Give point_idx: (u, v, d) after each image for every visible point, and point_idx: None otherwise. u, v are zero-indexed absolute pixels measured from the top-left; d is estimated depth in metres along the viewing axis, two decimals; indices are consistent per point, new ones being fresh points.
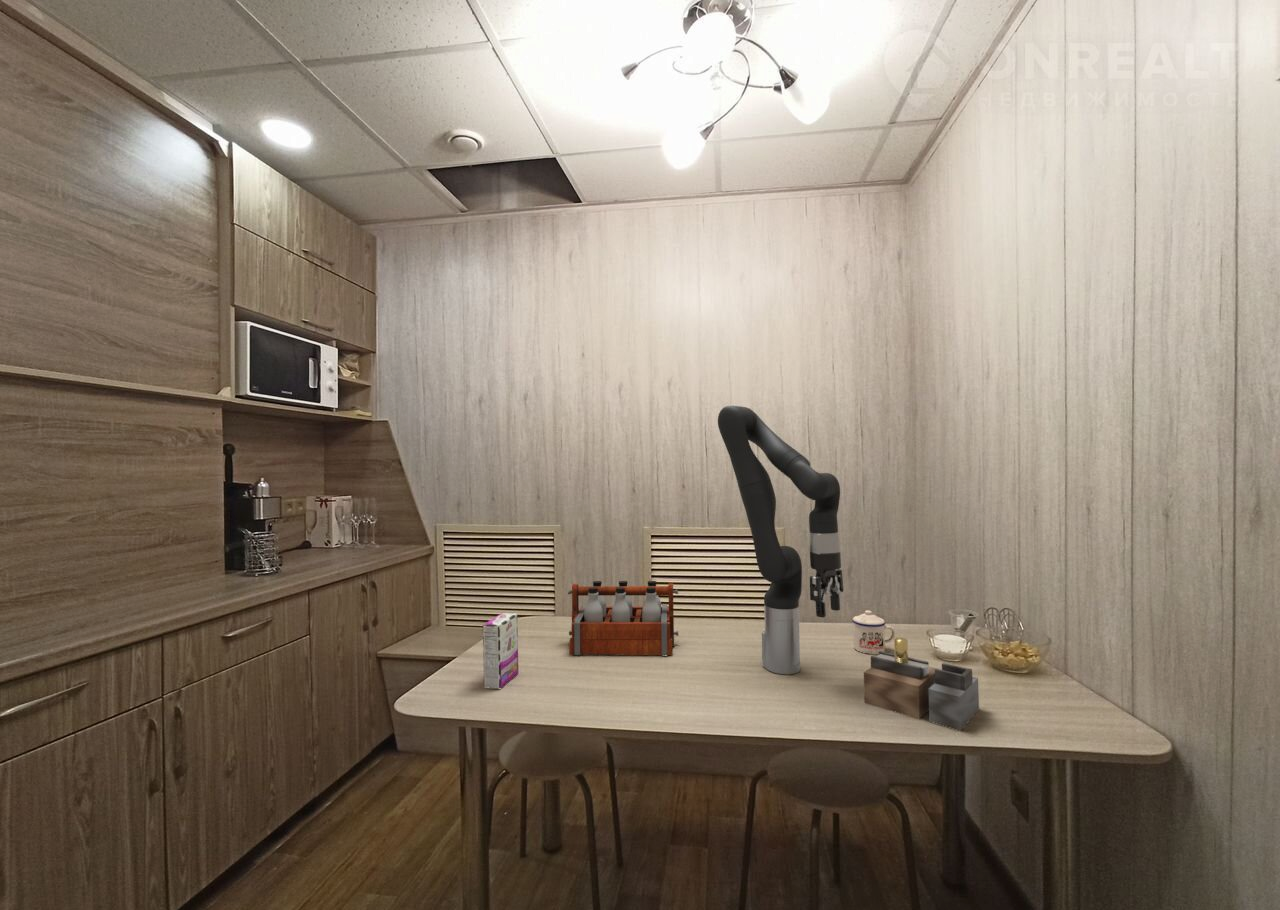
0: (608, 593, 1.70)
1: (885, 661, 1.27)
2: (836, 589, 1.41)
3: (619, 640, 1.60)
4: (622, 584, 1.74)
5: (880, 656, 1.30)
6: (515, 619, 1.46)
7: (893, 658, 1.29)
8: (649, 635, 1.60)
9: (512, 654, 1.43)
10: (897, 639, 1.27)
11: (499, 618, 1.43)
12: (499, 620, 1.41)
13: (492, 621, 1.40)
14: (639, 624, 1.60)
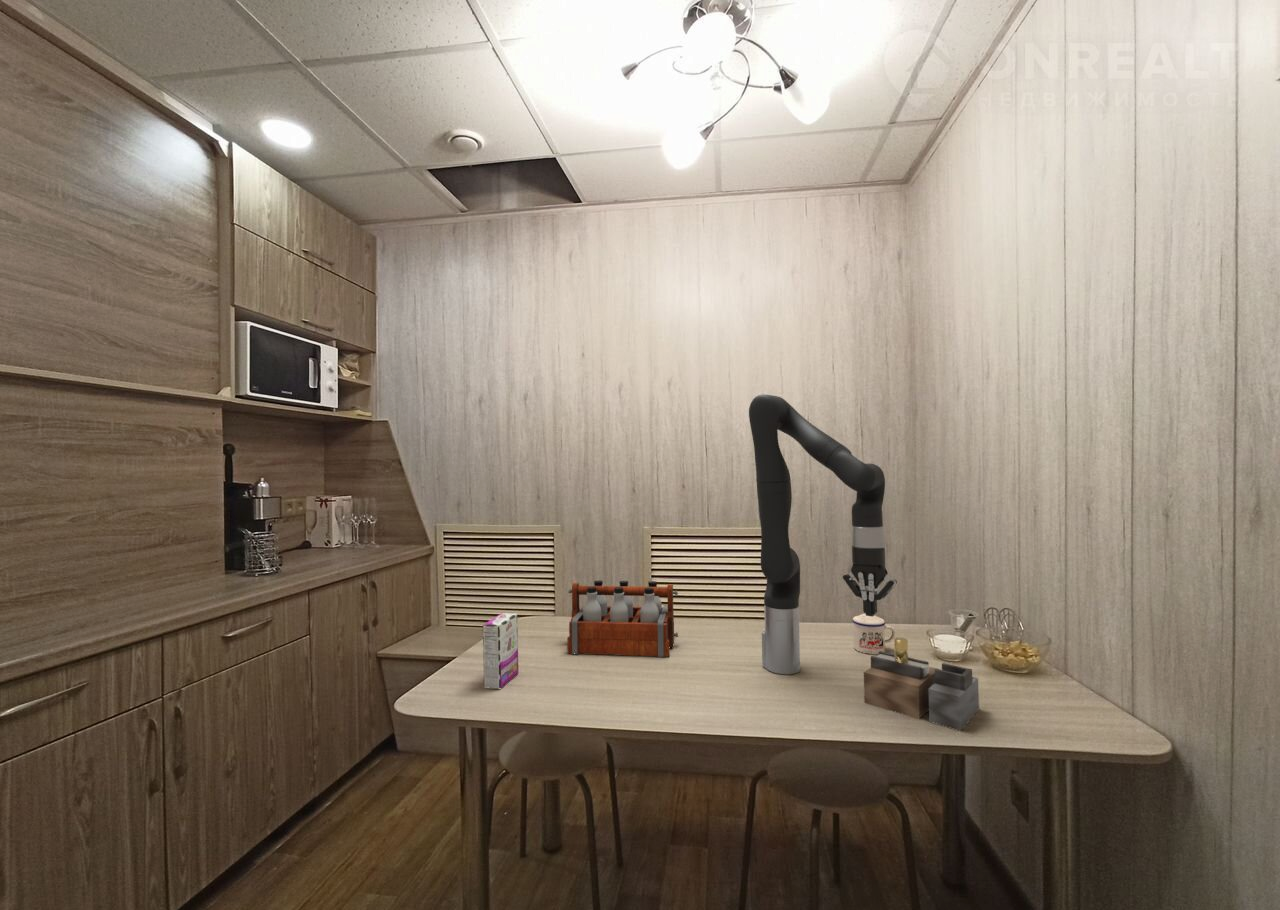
0: (607, 593, 1.70)
1: (885, 661, 1.27)
2: None
3: (616, 640, 1.61)
4: (622, 584, 1.74)
5: (880, 656, 1.30)
6: (515, 619, 1.46)
7: (893, 658, 1.29)
8: (645, 636, 1.59)
9: (512, 654, 1.43)
10: (897, 639, 1.27)
11: (499, 618, 1.43)
12: (499, 620, 1.41)
13: (492, 621, 1.40)
14: (636, 624, 1.60)
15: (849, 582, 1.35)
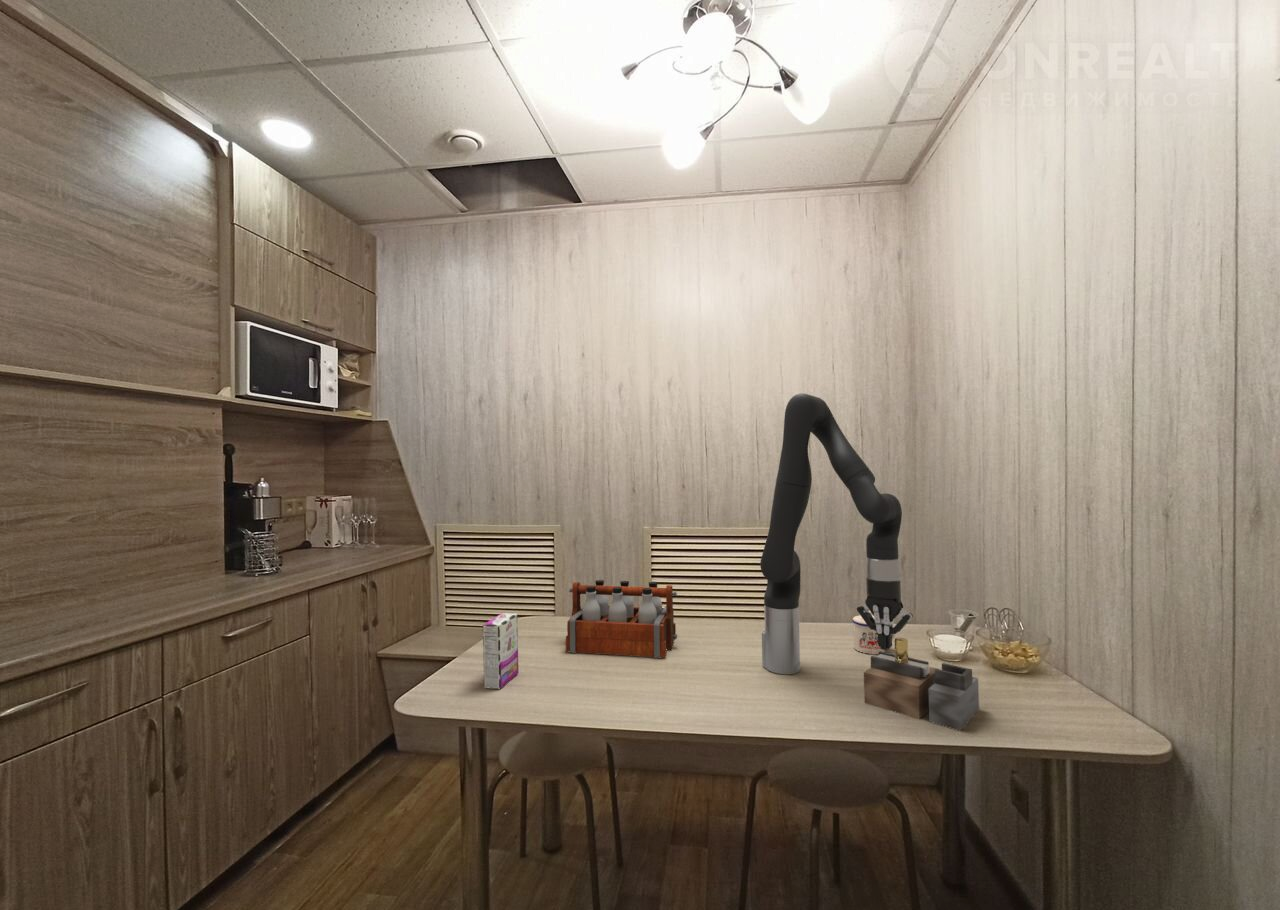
0: (607, 592, 1.70)
1: (885, 661, 1.27)
2: None
3: (613, 640, 1.61)
4: (623, 584, 1.74)
5: (880, 656, 1.30)
6: (515, 619, 1.46)
7: (893, 658, 1.29)
8: (642, 636, 1.59)
9: (512, 654, 1.43)
10: (897, 639, 1.27)
11: (499, 618, 1.43)
12: (499, 620, 1.41)
13: (492, 621, 1.40)
14: (632, 625, 1.60)
15: (863, 614, 1.32)
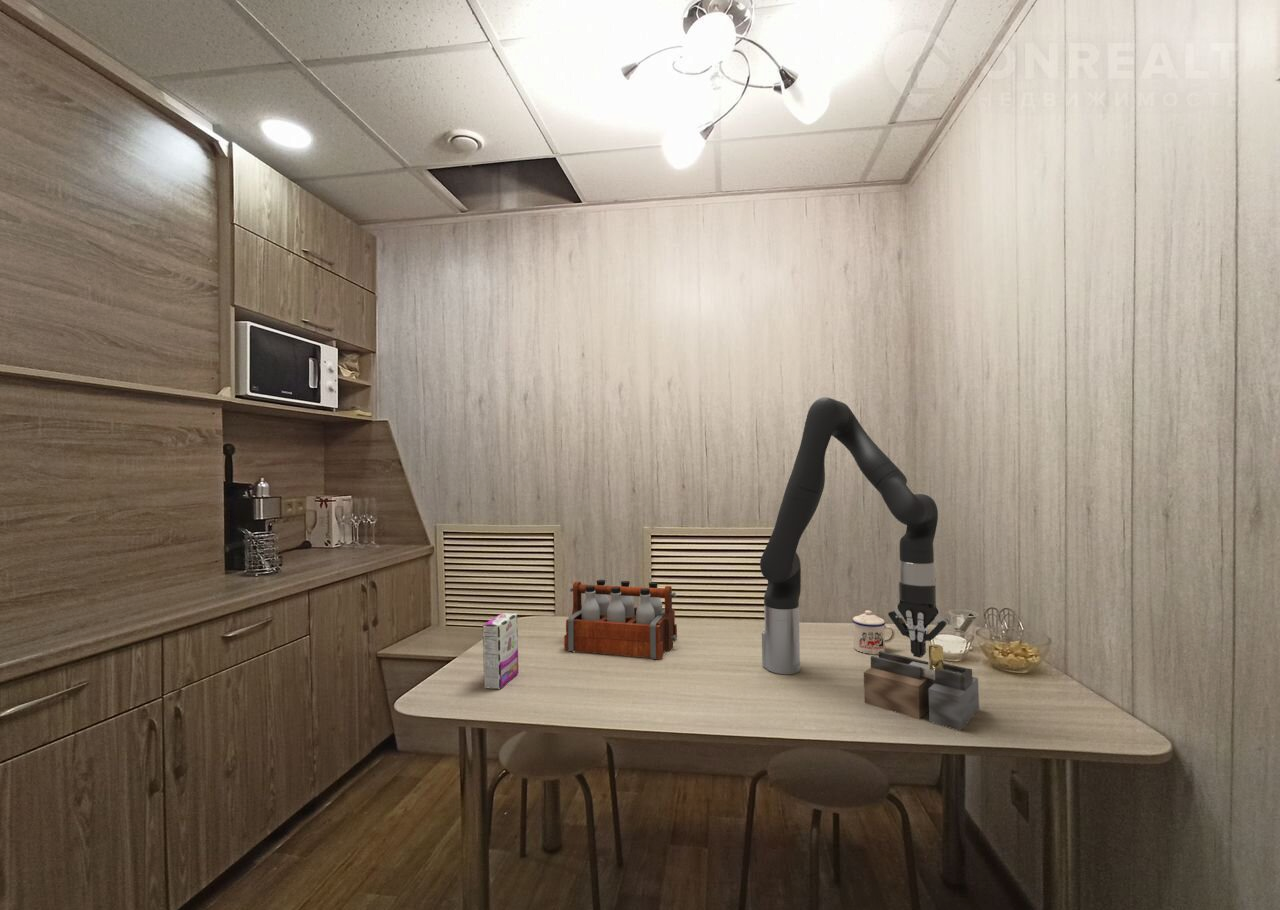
0: (607, 592, 1.71)
1: (885, 661, 1.27)
2: None
3: (610, 640, 1.61)
4: (623, 584, 1.74)
5: (913, 664, 1.25)
6: (515, 619, 1.46)
7: (927, 666, 1.23)
8: (638, 637, 1.58)
9: (512, 654, 1.43)
10: (932, 646, 1.22)
11: (499, 618, 1.43)
12: (499, 620, 1.41)
13: (492, 621, 1.40)
14: (629, 625, 1.59)
15: (895, 620, 1.27)
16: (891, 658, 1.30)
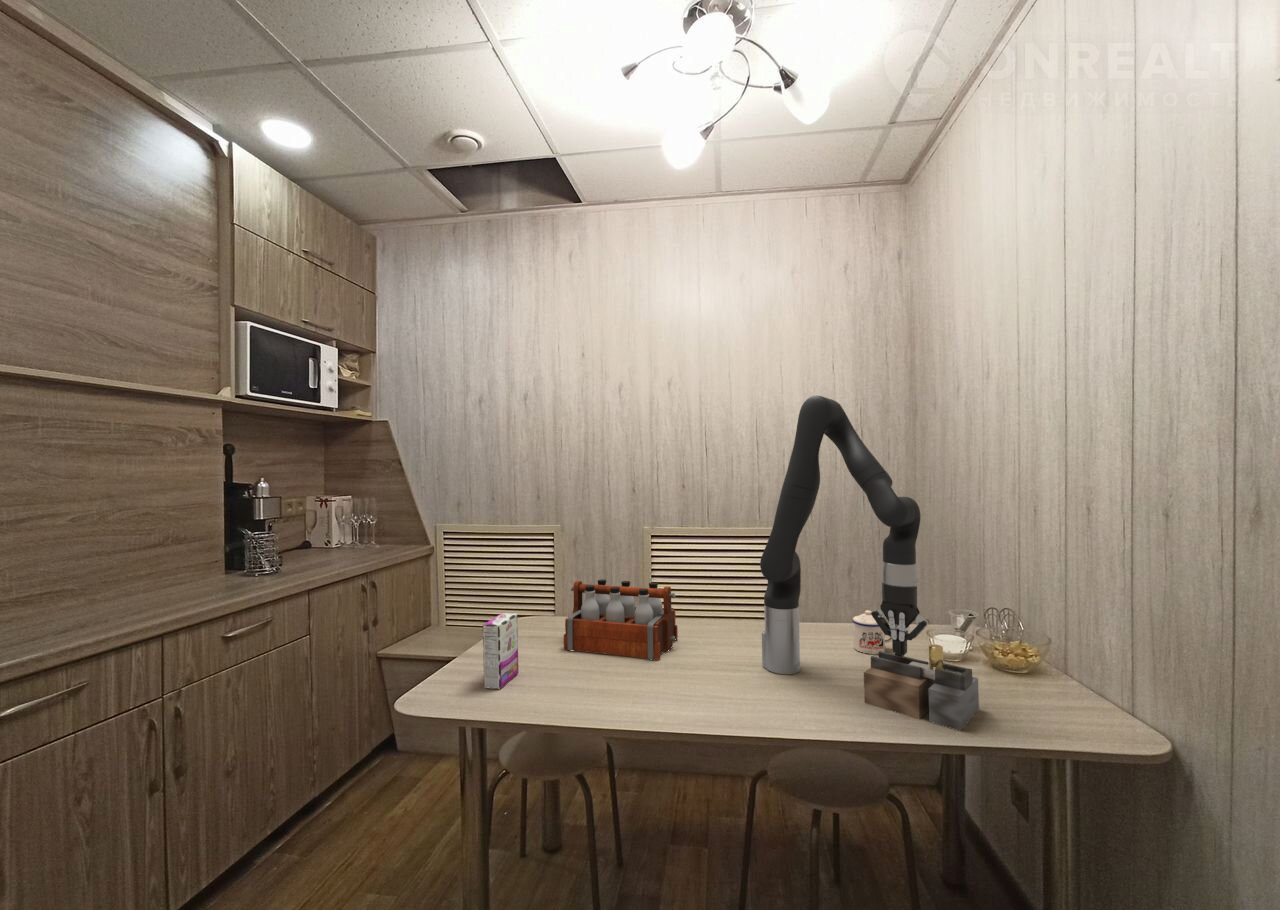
0: (606, 592, 1.71)
1: (885, 661, 1.27)
2: None
3: (608, 639, 1.61)
4: (624, 584, 1.74)
5: (913, 664, 1.25)
6: (515, 619, 1.46)
7: (927, 666, 1.23)
8: (636, 637, 1.58)
9: (512, 654, 1.43)
10: (932, 646, 1.22)
11: (499, 618, 1.43)
12: (499, 620, 1.41)
13: (492, 621, 1.40)
14: (627, 625, 1.59)
15: (878, 619, 1.30)
16: (891, 658, 1.30)
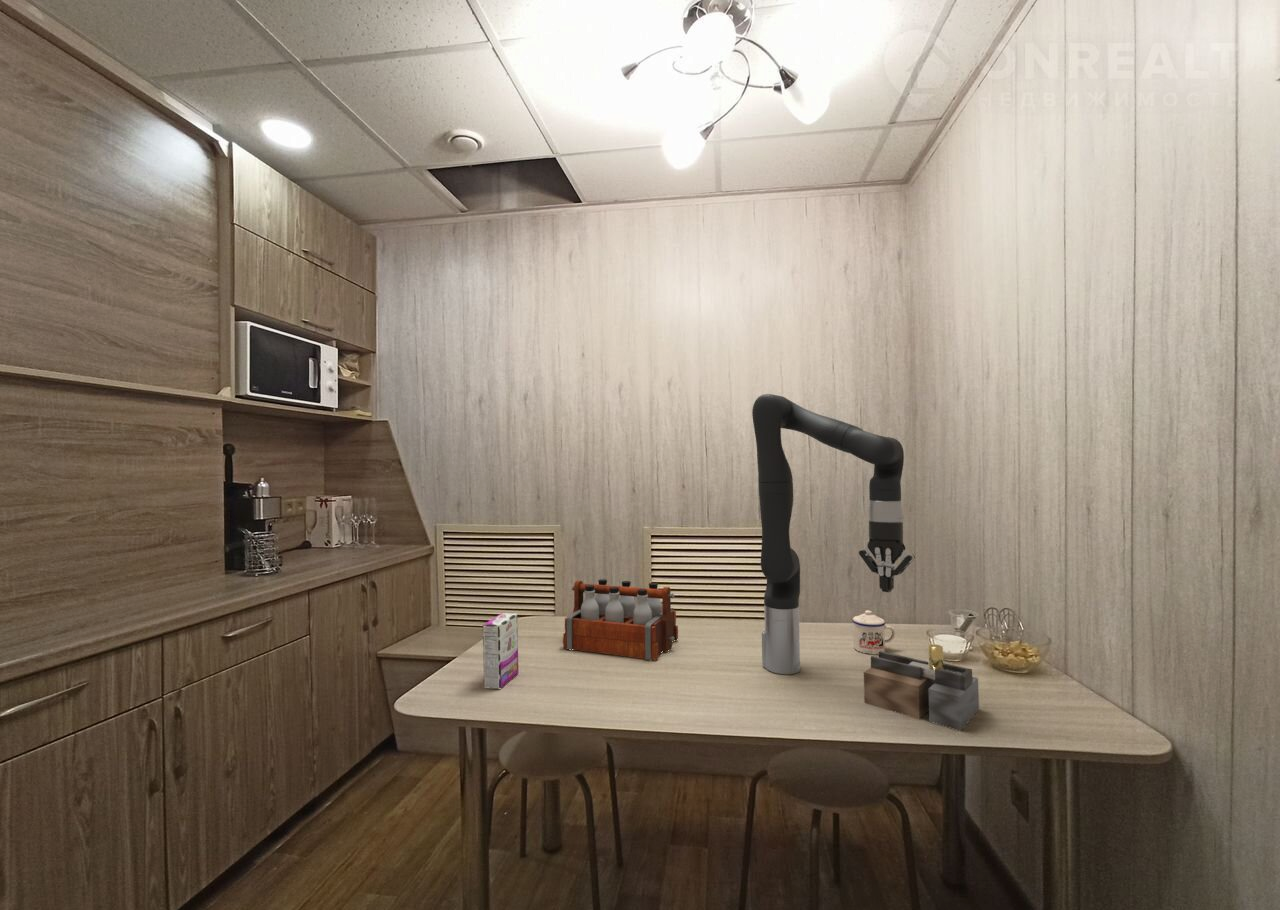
0: (606, 592, 1.71)
1: (885, 661, 1.27)
2: None
3: (607, 639, 1.61)
4: (624, 584, 1.74)
5: (913, 664, 1.25)
6: (515, 619, 1.46)
7: (927, 666, 1.23)
8: (634, 637, 1.58)
9: (512, 654, 1.43)
10: (932, 646, 1.22)
11: (499, 618, 1.43)
12: (499, 620, 1.41)
13: (492, 621, 1.40)
14: (625, 625, 1.59)
15: (865, 558, 1.33)
16: (891, 658, 1.30)
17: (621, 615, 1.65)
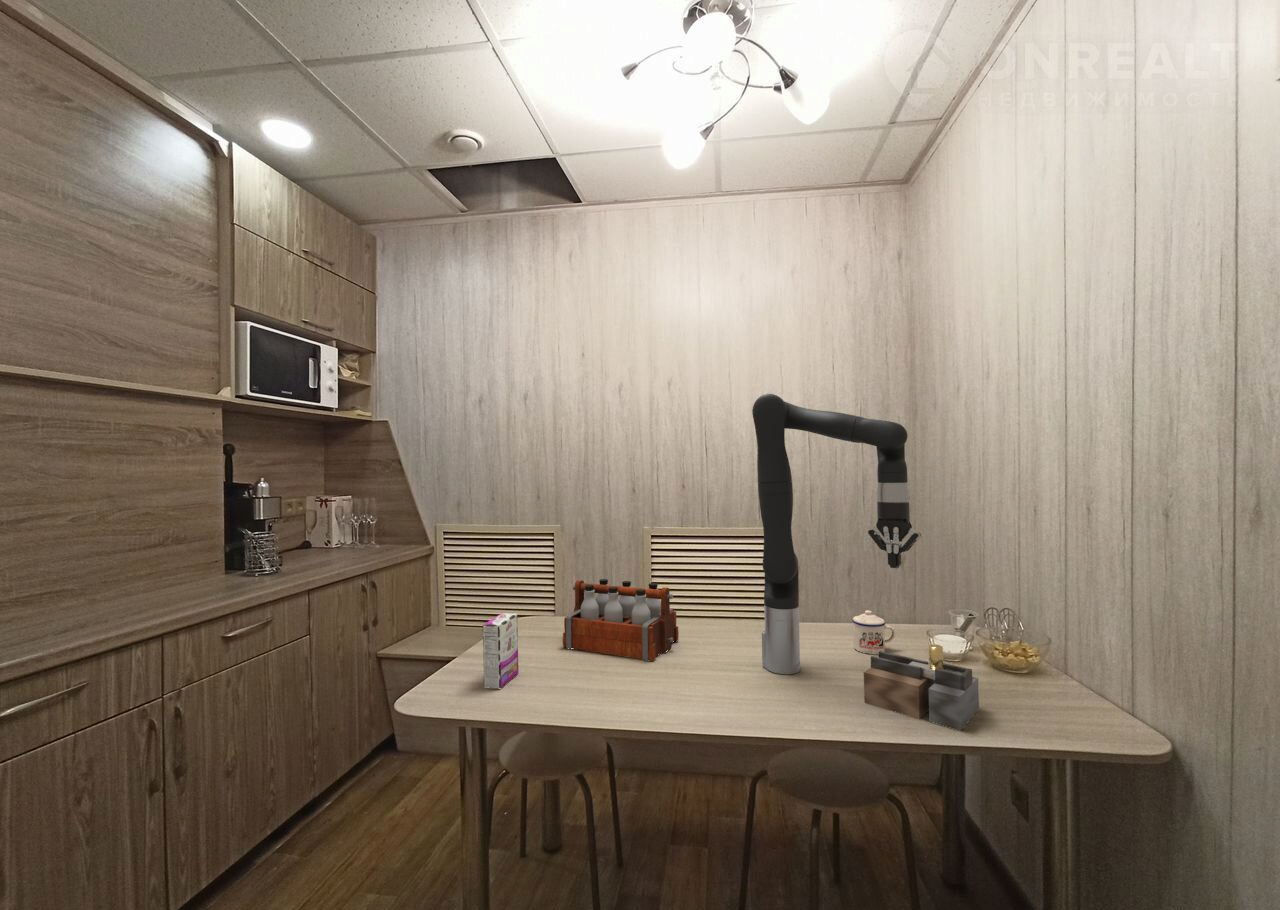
0: (606, 592, 1.72)
1: (885, 661, 1.27)
2: None
3: (605, 639, 1.62)
4: (624, 584, 1.74)
5: (913, 664, 1.25)
6: (515, 619, 1.46)
7: (927, 666, 1.23)
8: (631, 637, 1.58)
9: (512, 654, 1.43)
10: (932, 646, 1.22)
11: (499, 618, 1.43)
12: (499, 620, 1.41)
13: (492, 621, 1.40)
14: (623, 625, 1.59)
15: (874, 536, 1.41)
16: (891, 658, 1.30)
17: (620, 615, 1.65)
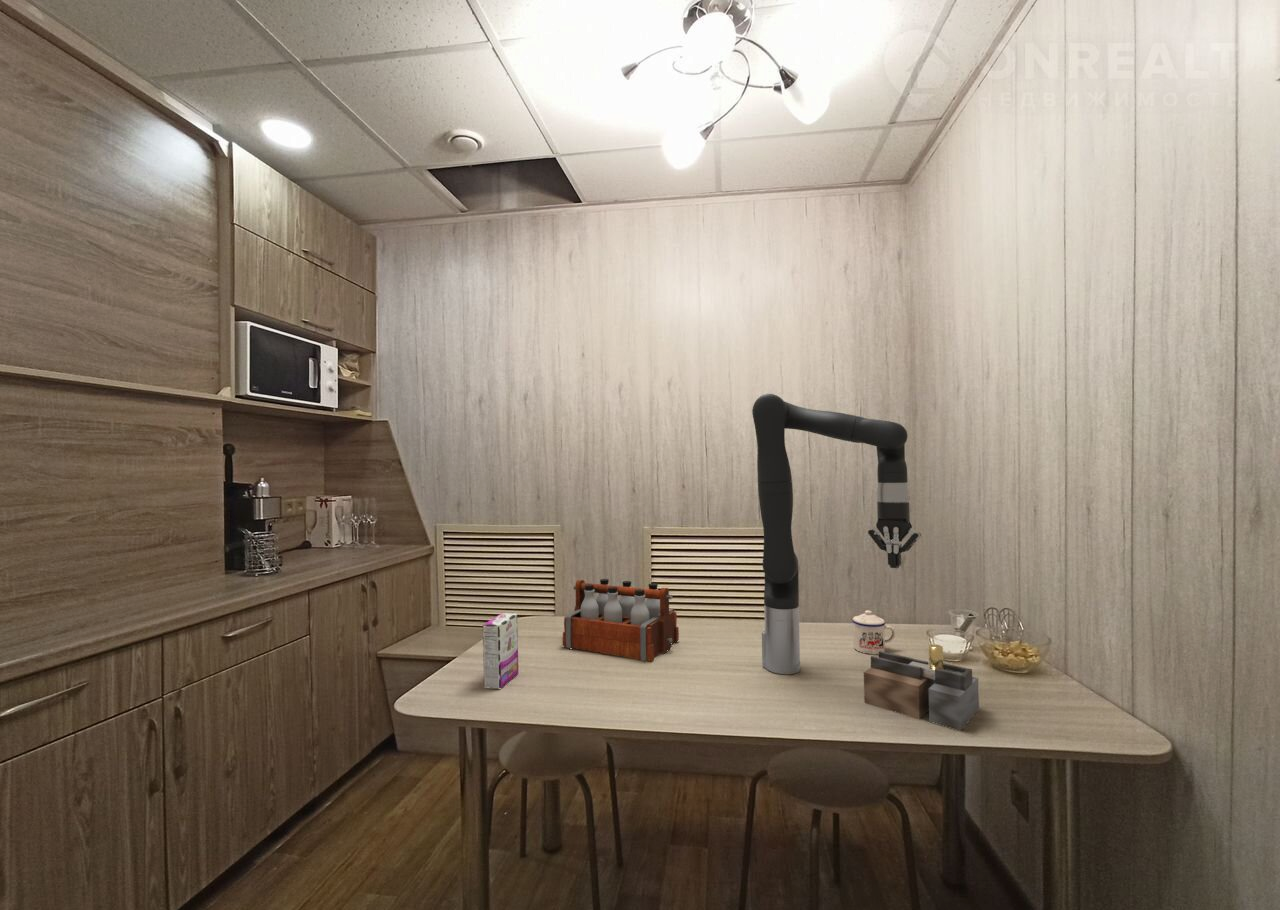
0: (606, 592, 1.72)
1: (885, 661, 1.27)
2: None
3: (604, 639, 1.62)
4: (624, 584, 1.74)
5: (913, 664, 1.25)
6: (515, 619, 1.46)
7: (927, 666, 1.23)
8: (630, 638, 1.58)
9: (512, 654, 1.43)
10: (932, 646, 1.22)
11: (499, 618, 1.43)
12: (499, 620, 1.41)
13: (492, 621, 1.40)
14: (621, 625, 1.59)
15: (874, 536, 1.41)
16: (891, 658, 1.30)
17: (619, 615, 1.65)
